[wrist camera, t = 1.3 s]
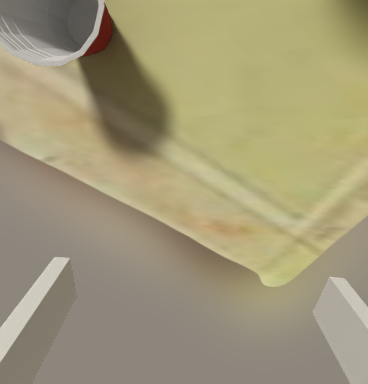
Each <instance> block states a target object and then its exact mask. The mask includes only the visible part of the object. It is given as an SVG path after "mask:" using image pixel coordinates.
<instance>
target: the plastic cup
mask: <svg viewBox="0 0 368 384" xmlns="http://www.w3.org/2000/svg"><path fill="white" fill-rule="evenodd" d="M111 35H112V22H111V17H110V15H109V13H108V10H107V7H106V5H105V3H104V0H0V45H1V46H2V47H3V48H4V49H5V50H6V51H8V52H9V53H10V54H11V55H12V56H15V57H17V58H20V59H22V60H24V61H27V62H29V63H32V64H34V65H36V66H62V65H65V64H67V63H69V62H71V61H73V60H74V59H76V58H78V57H82V56H88V55H91V54H94V53H98V52H100V51H101V50H103V49H105V47H106V46H107V45H108V43H109V42H110V39H111Z"/></svg>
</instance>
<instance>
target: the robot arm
mask: <svg viewBox="0 0 368 384" xmlns="http://www.w3.org/2000/svg"><path fill="white" fill-rule="evenodd" d="M76 298H77V295H76V289H75V283H74V277H73V271H72V266H71V260H70V258H62V257H54V259H53V260H52V261H51V263H50V264H49V265H48V266H47V268H46V269H45V270H44V272H43V273H42V274H41V275H40V277H39V278H38V279H37V281H36V282H35V283H34V285H33V286H32V287H31V289H30V290H29V291H28V293H27V294H26V295H25V297H24V298H23V299H22V300H21V302H20V303H19V304H18V306H17V307H16V308H15V309H14V311H13V312H12V313H11V315H10V316H9V317H8V319H7V320H6V321H5V323H4V324H3V325H2V326H1V328H0V384H32V383H33V381H34V379H35V377H36V375H37V373H38V371H39V369H40V367H41V365H42V363H43V362H44V359H45V358H46V356H47V354H48V352H49V350H50V348H51V346H52V344H53V342H54V340H55V338H56V336H57V334H58V333H59V331H60V329H61V327H62V325H63V323H64V321H65V319H66V317H67V315H68V313H69V311H70V309H71V307H72V305H73V304H74V302H75V300H76ZM312 314H313V316H314V318H315V320H316V321H317V323H318V325H319V327H320V329H321V331H322V332H323V334H324V336H325V338H326V340H327V342H328V343H329V345H330V347H331V349H332V351H333V353H334V355H335V356H336V358H337V360H338V362H339V364H340V366H341V368H342V369H343V371H344V373H345V375H346V377H347V378H348V380H349V382H350V384H368V307H367V306H366V304H365V303H364V302H363V301H362V299H360V297H359V296H358V295H357V293H356V292H355V291H354V290H353V288H352V287H351V286H350V285H349V283H348V282H347V281H346V280H345V278H337V277H329V279H328V281H327V283H326V285H325V287H324V290H323V291H322V294H321V296H320V298H319V300H318V302H317V304H316V306H315V308H314V310H313V312H312Z"/></svg>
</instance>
